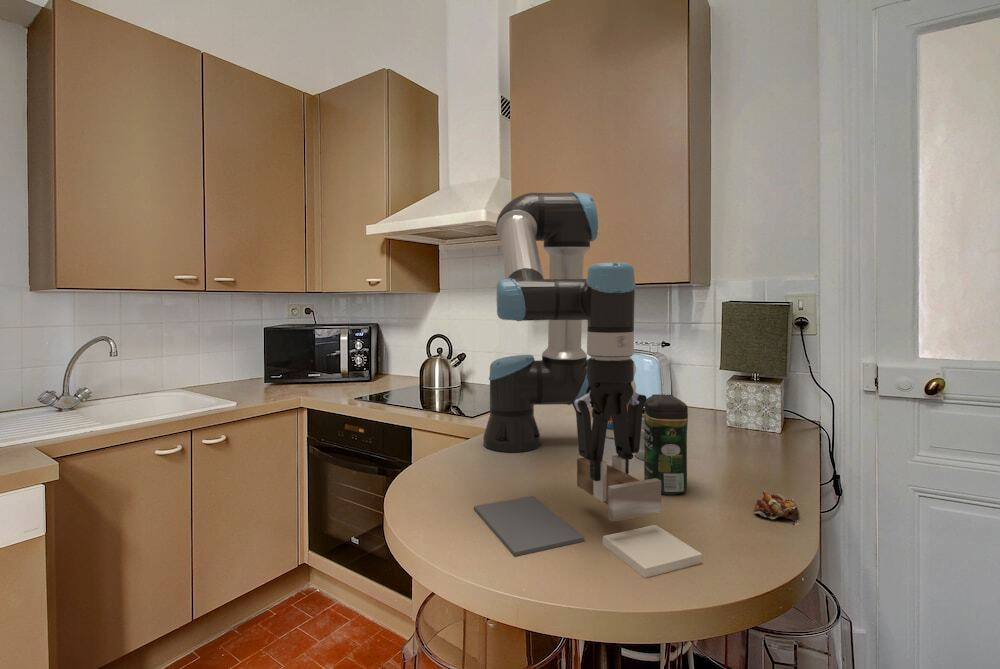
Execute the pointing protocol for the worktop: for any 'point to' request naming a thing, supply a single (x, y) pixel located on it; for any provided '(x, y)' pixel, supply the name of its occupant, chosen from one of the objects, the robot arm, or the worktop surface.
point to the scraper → (623, 492)
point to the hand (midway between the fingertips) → (609, 496)
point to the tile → (651, 550)
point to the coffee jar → (666, 442)
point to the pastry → (776, 507)
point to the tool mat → (527, 525)
